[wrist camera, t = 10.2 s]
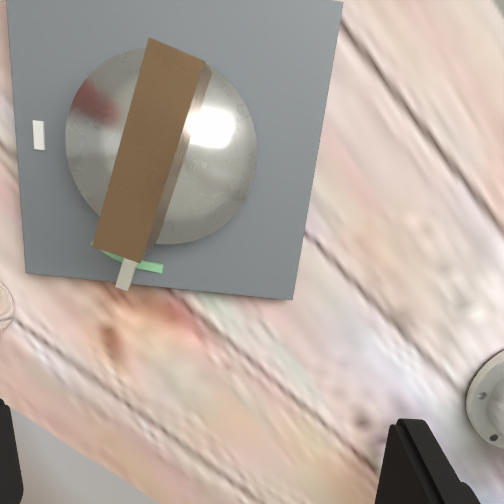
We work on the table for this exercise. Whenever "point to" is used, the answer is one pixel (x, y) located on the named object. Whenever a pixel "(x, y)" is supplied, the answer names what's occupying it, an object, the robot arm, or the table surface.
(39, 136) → the dial plate
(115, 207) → the tuning dial
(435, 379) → the table surface
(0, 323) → the beer glass
